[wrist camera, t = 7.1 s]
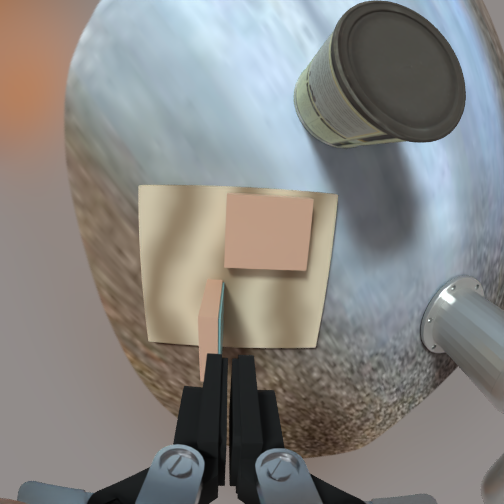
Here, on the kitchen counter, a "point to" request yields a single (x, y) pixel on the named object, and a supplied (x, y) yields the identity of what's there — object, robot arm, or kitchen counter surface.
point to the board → (227, 270)
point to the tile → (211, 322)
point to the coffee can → (381, 80)
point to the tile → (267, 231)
